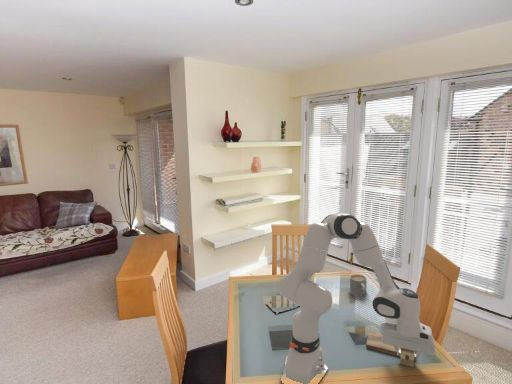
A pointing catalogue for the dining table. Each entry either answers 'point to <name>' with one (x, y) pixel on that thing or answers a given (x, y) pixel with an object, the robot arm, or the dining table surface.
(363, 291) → the coffee mug
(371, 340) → the board
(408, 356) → the gauge
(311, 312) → the robot arm
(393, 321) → the white cup
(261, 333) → the dining table surface
